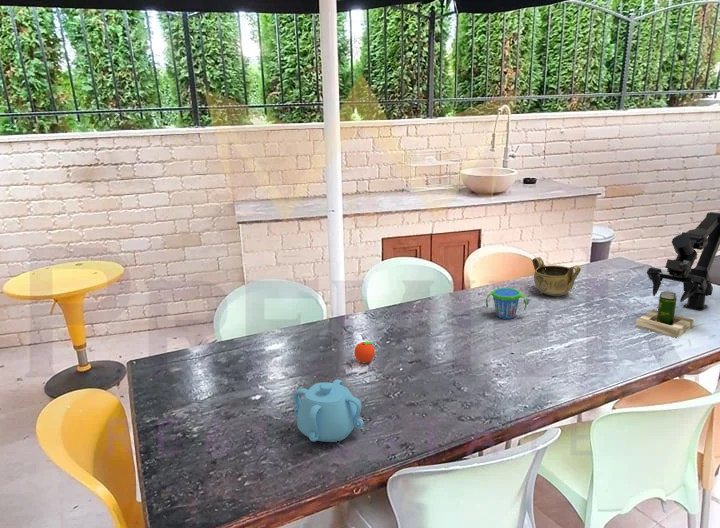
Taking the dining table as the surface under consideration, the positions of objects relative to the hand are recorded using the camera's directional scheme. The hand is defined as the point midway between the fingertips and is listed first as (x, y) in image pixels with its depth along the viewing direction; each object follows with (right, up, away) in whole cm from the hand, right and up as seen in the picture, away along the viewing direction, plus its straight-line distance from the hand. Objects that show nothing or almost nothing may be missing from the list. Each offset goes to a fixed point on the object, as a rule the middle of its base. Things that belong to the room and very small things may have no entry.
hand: (666, 298), depth 186 cm
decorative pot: (-119, -32, -48) cm, 132 cm away
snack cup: (-52, -9, +20) cm, 57 cm away
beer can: (+1, -10, +4) cm, 11 cm away
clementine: (-108, -21, -11) cm, 111 cm away
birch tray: (+1, -11, +4) cm, 12 cm away
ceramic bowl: (-26, -1, +41) cm, 49 cm away
